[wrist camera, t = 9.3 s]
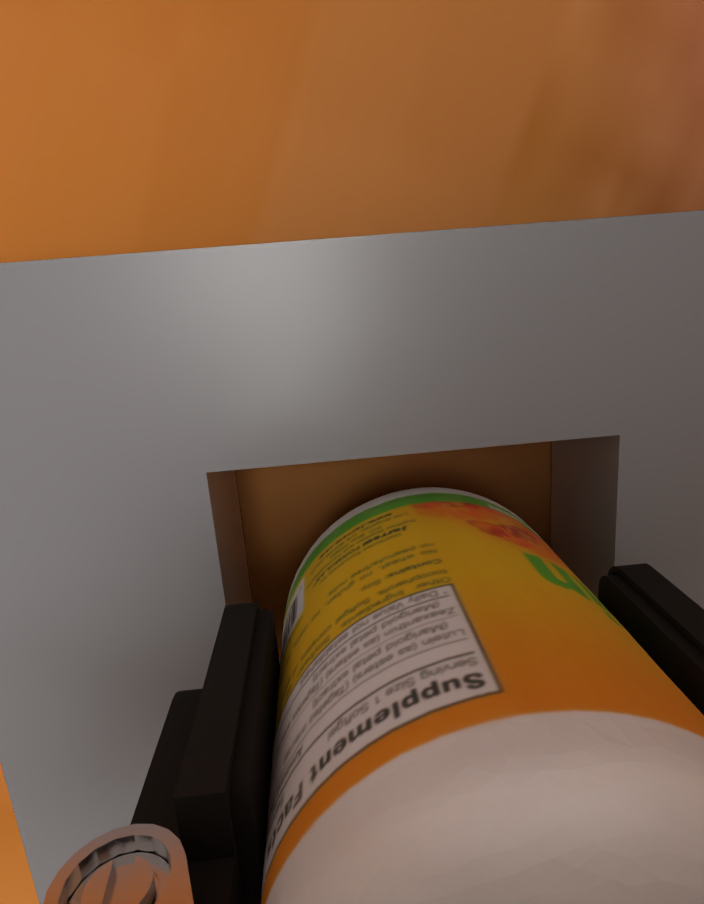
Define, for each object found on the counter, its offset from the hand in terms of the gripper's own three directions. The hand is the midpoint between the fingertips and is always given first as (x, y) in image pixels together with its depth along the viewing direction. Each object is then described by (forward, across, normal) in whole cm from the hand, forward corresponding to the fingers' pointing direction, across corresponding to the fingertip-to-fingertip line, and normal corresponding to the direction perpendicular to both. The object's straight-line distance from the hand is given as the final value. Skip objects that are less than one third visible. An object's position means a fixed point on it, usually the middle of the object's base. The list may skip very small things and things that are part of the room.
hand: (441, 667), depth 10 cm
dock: (+4, 0, 0) cm, 4 cm away
